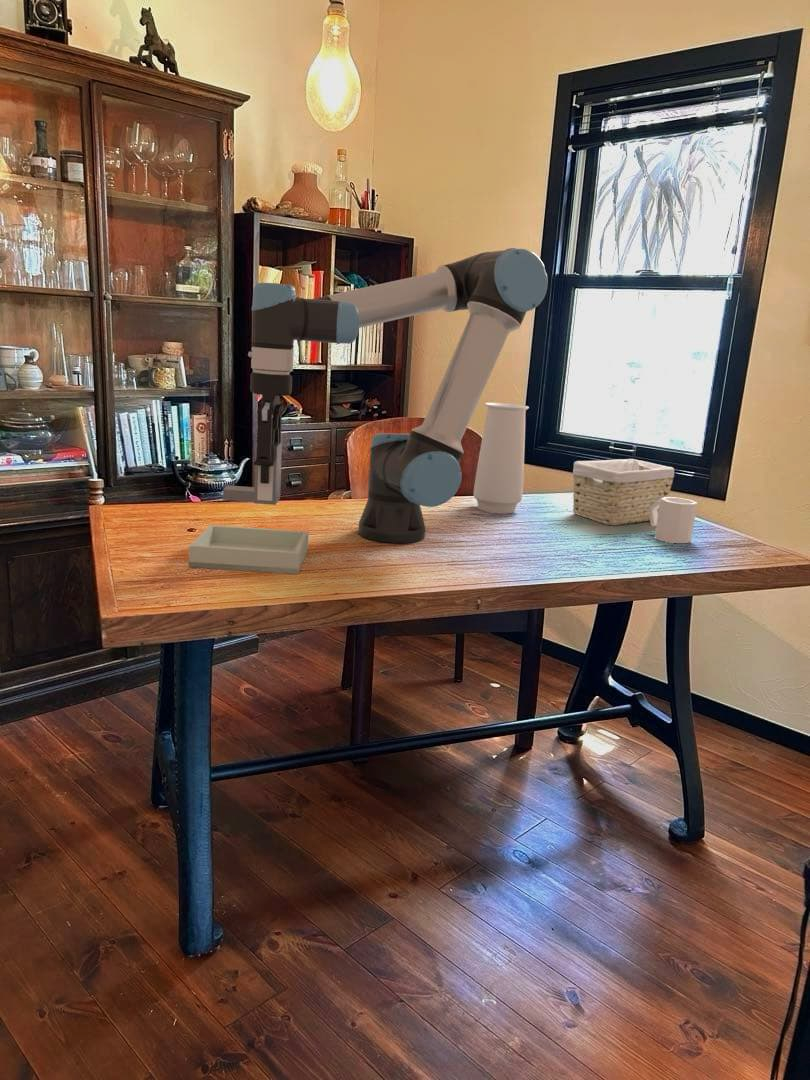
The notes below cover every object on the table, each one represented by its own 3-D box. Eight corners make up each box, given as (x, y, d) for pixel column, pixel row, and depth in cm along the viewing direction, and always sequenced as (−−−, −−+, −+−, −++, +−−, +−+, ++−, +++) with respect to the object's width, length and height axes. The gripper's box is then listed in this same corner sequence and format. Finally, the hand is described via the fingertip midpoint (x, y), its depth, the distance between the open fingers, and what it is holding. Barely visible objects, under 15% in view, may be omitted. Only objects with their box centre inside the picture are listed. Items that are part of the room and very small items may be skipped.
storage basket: (609, 528, 196) (617, 471, 193) (564, 513, 209) (570, 460, 206) (669, 521, 209) (678, 468, 206) (623, 508, 222) (631, 457, 219)
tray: (307, 550, 157) (308, 531, 156) (297, 574, 142) (298, 553, 141) (209, 543, 157) (209, 524, 156) (188, 567, 141) (188, 546, 140)
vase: (473, 502, 215) (483, 401, 207) (520, 507, 213) (531, 405, 206) (470, 512, 202) (481, 405, 195) (520, 517, 201) (532, 409, 193)
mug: (697, 542, 188) (704, 503, 185) (674, 545, 183) (681, 505, 181) (658, 530, 197) (664, 493, 195) (635, 533, 193) (641, 494, 190)
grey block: (280, 498, 149) (282, 441, 146) (275, 504, 143) (277, 446, 141) (228, 494, 149) (229, 437, 146) (221, 501, 143) (222, 442, 140)
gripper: (260, 368, 149) (257, 485, 155) (240, 373, 131) (237, 505, 137) (298, 371, 149) (294, 488, 155) (284, 376, 131) (280, 508, 137)
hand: (267, 496), depth 146 cm, fingers closed on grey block, 6 cm apart
